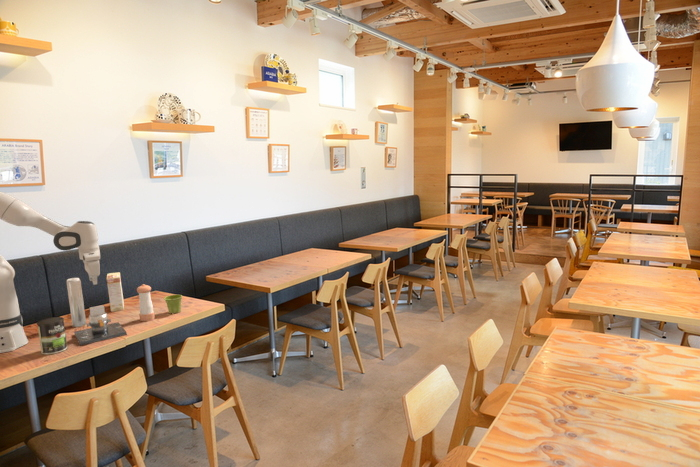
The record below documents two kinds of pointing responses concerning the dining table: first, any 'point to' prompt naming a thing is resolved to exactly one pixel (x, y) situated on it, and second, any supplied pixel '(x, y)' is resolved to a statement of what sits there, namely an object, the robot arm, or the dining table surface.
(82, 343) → the post plate
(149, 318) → the pepper shaker
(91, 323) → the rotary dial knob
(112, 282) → the coffeecake box
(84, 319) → the thermos flask
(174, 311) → the plant pot
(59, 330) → the coffee can
